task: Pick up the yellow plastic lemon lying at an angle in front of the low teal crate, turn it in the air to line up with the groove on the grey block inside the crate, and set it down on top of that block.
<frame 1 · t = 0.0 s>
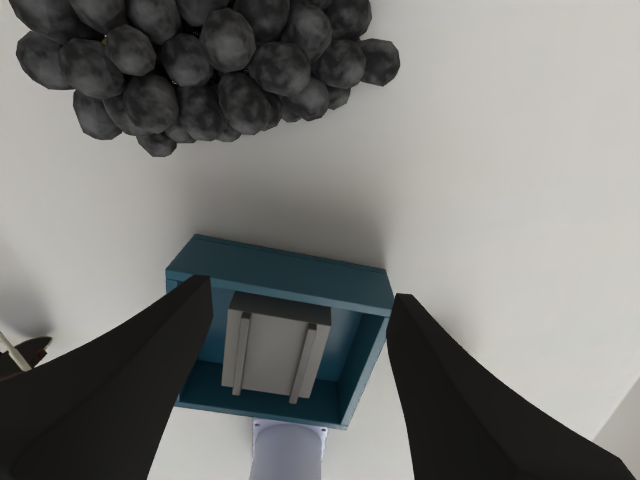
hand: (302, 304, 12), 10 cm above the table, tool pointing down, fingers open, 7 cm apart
fruit: (254, 66, 17), on the table
grey block: (278, 323, 25), point 1 cm above the table, touching crate
crate: (279, 318, 26), on the table
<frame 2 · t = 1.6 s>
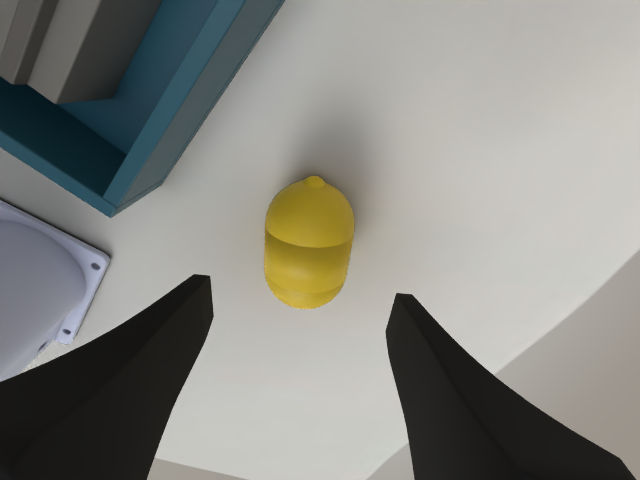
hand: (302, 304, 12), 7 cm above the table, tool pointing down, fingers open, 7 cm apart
lemon: (309, 228, 18), on the table
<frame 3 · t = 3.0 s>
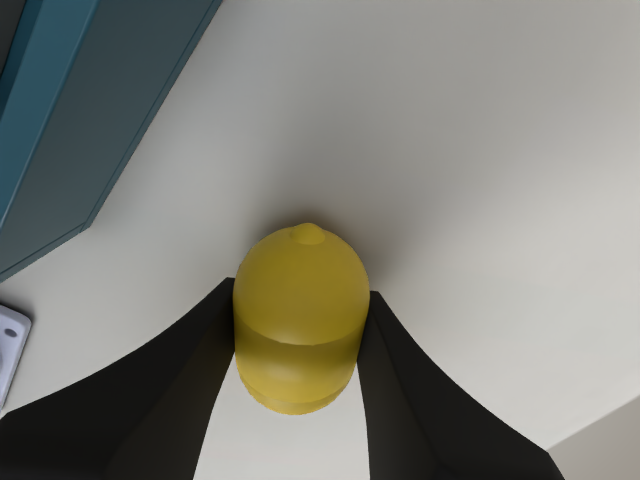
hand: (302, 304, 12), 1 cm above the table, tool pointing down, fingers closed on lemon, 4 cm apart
lemon: (303, 283, 13), on the table, touching gripper
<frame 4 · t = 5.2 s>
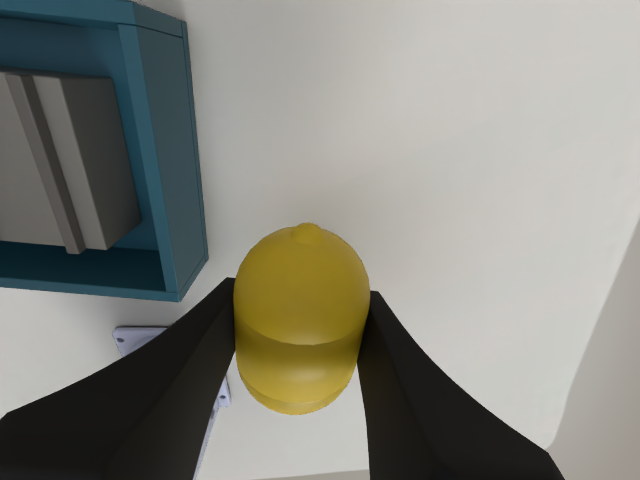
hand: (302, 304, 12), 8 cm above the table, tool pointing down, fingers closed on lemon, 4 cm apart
grey block: (65, 151, 17), point 1 cm above the table, touching crate
crate: (73, 149, 17), on the table
lemon: (303, 282, 13), point 7 cm above the table, touching gripper
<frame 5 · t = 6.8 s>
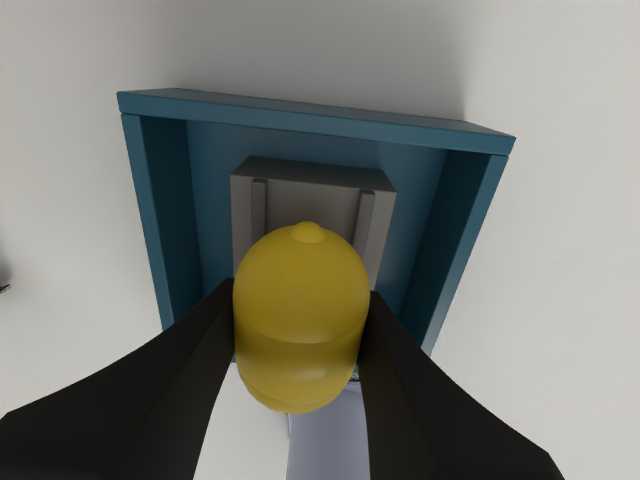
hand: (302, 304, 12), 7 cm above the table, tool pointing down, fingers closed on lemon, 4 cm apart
grey block: (309, 231, 17), point 1 cm above the table, touching crate
crate: (310, 227, 18), on the table
lemon: (303, 282, 13), point 6 cm above the table, touching gripper
when the fingers open (5 cm above the table, at t = 7.8 s): lemon stays where it is, resting on grey block.
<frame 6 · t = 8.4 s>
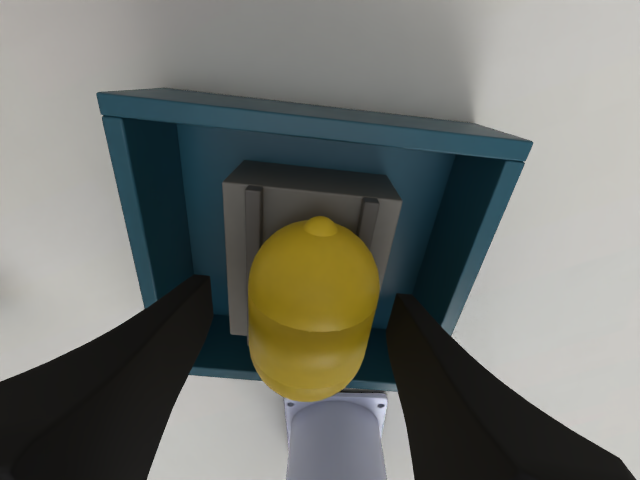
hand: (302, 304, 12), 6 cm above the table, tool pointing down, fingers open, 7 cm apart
grey block: (308, 239, 16), point 1 cm above the table, touching crate, lemon
crate: (309, 234, 17), on the table
lemon: (304, 275, 13), point 4 cm above the table, tilted 10°, touching grey block
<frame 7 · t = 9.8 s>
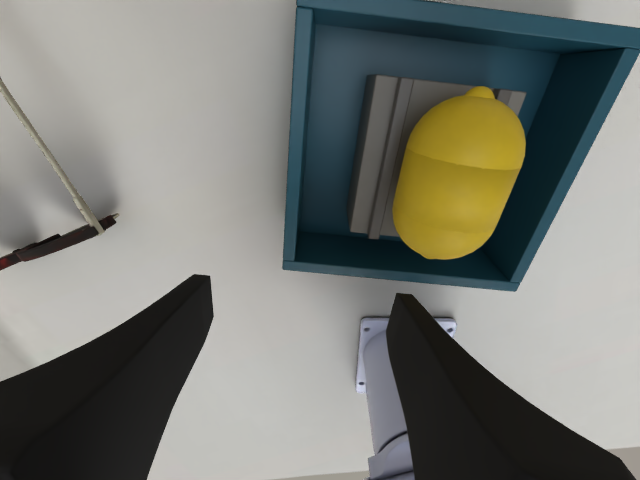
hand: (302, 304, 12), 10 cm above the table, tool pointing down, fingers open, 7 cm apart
grey block: (411, 154, 19), point 1 cm above the table, touching crate, lemon
crate: (409, 152, 19), on the table
lemon: (428, 169, 15), point 4 cm above the table, tilted 9°, touching grey block
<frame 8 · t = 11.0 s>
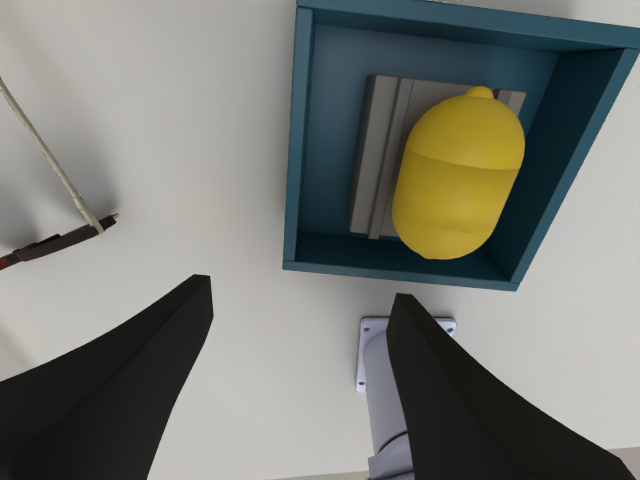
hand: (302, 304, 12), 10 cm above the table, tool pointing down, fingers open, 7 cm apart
grey block: (411, 154, 19), point 1 cm above the table, touching crate, lemon
crate: (409, 152, 19), on the table
lemon: (428, 169, 15), point 4 cm above the table, tilted 8°, touching grey block
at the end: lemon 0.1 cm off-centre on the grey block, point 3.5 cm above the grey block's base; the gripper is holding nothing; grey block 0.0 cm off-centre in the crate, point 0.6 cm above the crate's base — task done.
